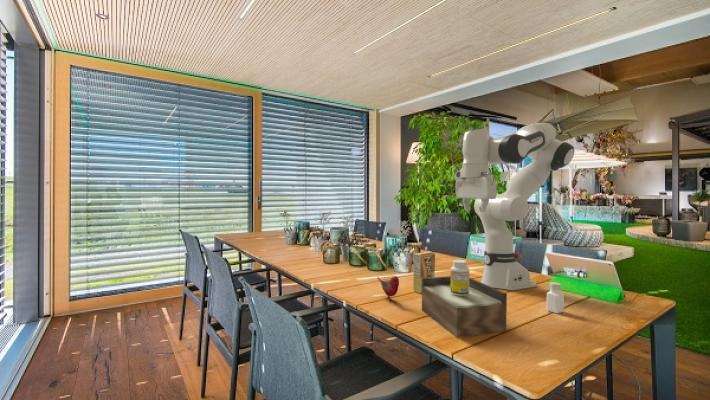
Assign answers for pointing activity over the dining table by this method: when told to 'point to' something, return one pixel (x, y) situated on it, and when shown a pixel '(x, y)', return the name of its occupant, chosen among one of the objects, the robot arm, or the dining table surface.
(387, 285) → the decorative bird figurine
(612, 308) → the dining table surface
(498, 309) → the open wooden crate
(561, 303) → the white bottle
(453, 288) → the supplement bottle
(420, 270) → the candy box
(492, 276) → the robot arm
